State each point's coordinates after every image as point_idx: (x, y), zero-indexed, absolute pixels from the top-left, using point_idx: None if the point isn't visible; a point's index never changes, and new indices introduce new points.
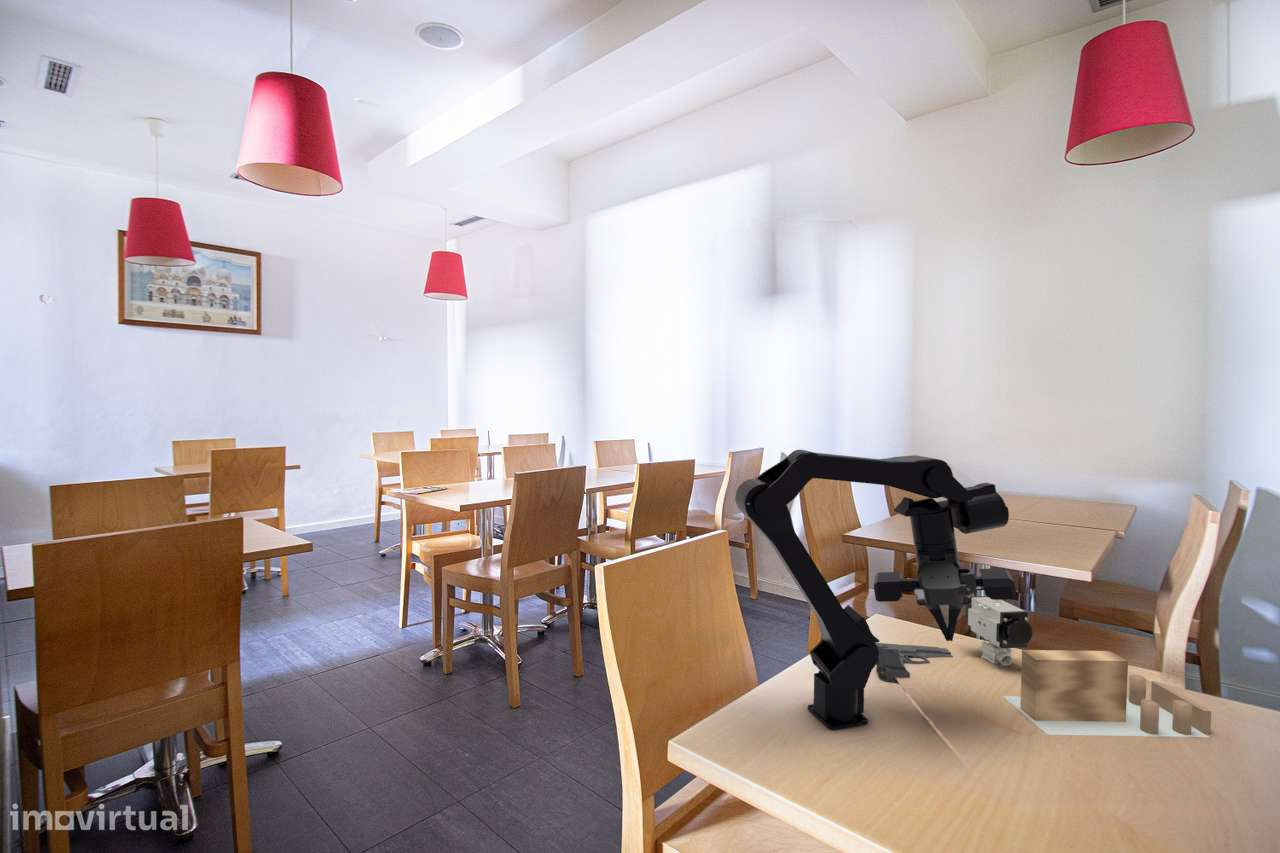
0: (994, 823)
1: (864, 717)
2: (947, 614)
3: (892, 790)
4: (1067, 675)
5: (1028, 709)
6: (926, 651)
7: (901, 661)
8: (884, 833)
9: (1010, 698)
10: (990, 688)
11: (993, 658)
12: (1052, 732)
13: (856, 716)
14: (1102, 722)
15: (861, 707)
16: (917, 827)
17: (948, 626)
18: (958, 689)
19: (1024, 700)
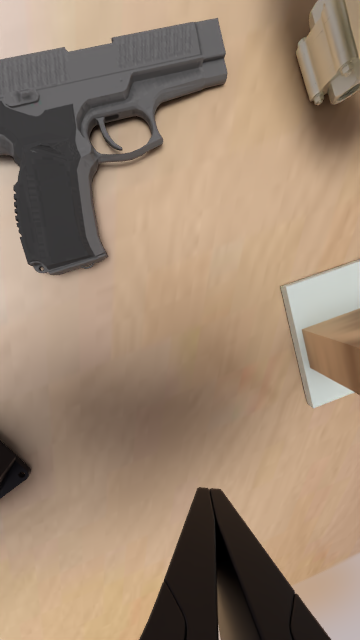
0: None
1: (20, 469)
2: (242, 633)
3: (78, 609)
4: None
5: (313, 354)
6: (158, 72)
7: (83, 195)
8: None
9: (296, 293)
10: (272, 231)
11: (324, 82)
12: (322, 398)
13: (3, 484)
14: None
15: (4, 476)
16: None
17: (218, 623)
18: (208, 259)
19: (318, 345)
